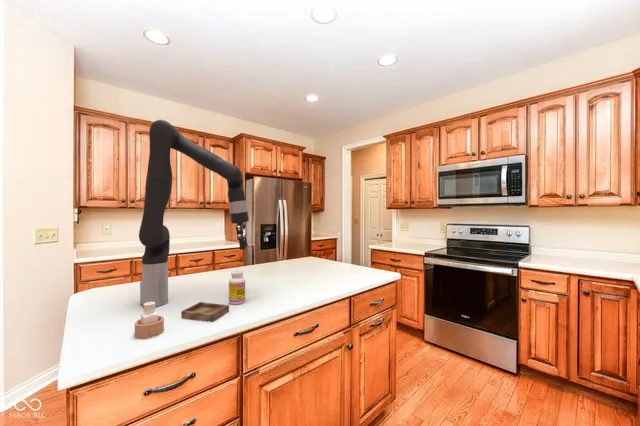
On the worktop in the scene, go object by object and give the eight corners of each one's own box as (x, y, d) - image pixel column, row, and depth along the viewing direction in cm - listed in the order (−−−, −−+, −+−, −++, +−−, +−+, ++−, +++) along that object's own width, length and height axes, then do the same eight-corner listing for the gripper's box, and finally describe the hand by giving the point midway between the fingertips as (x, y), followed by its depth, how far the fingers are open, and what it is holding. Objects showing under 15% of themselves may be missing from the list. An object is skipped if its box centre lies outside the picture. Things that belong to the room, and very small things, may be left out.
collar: (128, 336, 84) (128, 324, 83) (150, 326, 91) (149, 314, 91) (149, 339, 82) (149, 326, 82) (169, 328, 89) (169, 316, 89)
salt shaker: (144, 337, 83) (144, 306, 83) (140, 332, 86) (140, 303, 86) (158, 332, 86) (158, 303, 86) (154, 328, 89) (154, 300, 89)
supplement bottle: (236, 306, 110) (236, 274, 110) (225, 303, 113) (225, 272, 113) (248, 301, 116) (248, 271, 115) (237, 298, 119) (237, 269, 119)
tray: (181, 318, 98) (181, 311, 98) (199, 308, 107) (199, 302, 107) (212, 322, 94) (212, 315, 94) (228, 311, 104) (228, 305, 104)
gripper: (232, 212, 125) (237, 247, 126) (227, 213, 111) (232, 252, 112) (248, 210, 126) (253, 244, 127) (245, 211, 112) (251, 249, 113)
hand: (243, 248), depth 119 cm, fingers open, 8 cm apart
